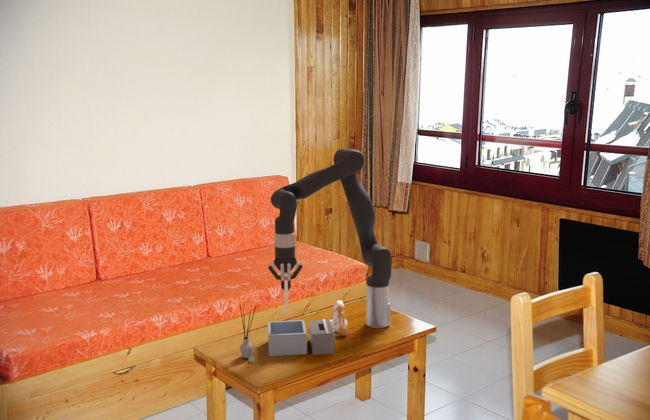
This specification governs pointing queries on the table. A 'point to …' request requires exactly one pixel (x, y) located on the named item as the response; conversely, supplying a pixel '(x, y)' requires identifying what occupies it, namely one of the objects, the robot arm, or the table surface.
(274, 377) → the table surface
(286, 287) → the ticket
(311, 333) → the dispenser
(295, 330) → the bin
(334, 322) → the white creature statuette
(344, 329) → the figurine
